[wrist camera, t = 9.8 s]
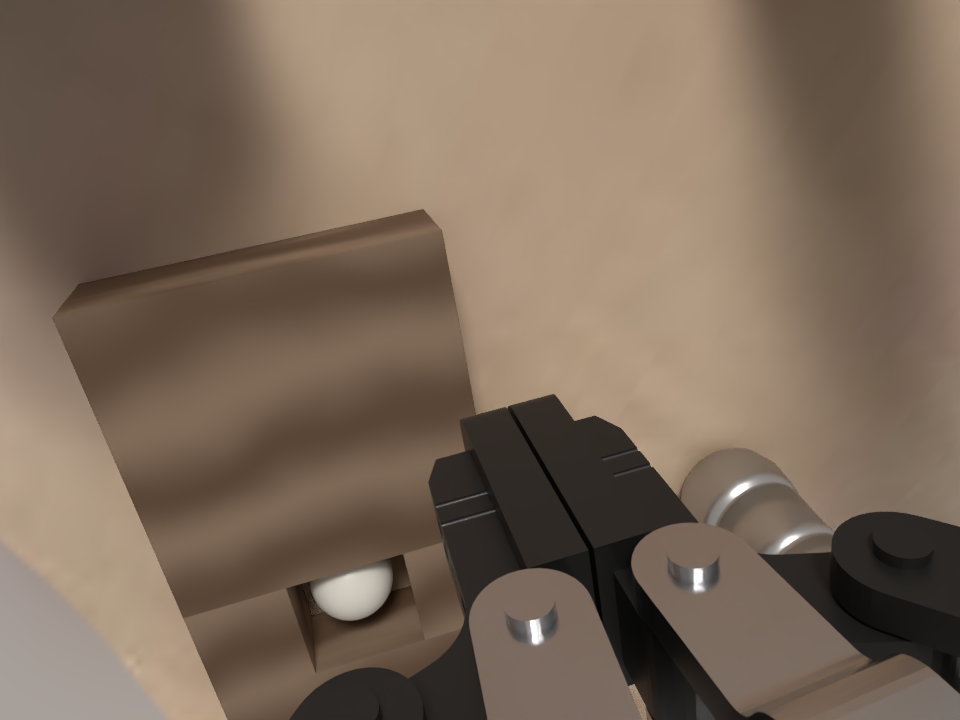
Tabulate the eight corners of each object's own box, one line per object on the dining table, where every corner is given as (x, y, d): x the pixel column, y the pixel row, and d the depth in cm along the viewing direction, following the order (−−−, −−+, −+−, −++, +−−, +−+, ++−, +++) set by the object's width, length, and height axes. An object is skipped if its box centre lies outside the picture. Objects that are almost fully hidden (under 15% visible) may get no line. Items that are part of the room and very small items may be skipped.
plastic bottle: (779, 453, 48) (1077, 698, 30) (722, 537, 50) (973, 817, 32) (704, 421, 46) (982, 667, 28) (647, 511, 47) (875, 798, 29)
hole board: (78, 284, 34) (52, 317, 30) (423, 209, 36) (441, 230, 32) (245, 690, 45) (243, 755, 41) (500, 611, 47) (521, 664, 43)
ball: (379, 515, 43) (383, 537, 39) (399, 588, 44) (405, 618, 39) (302, 538, 42) (297, 563, 38) (322, 612, 43) (320, 646, 38)
